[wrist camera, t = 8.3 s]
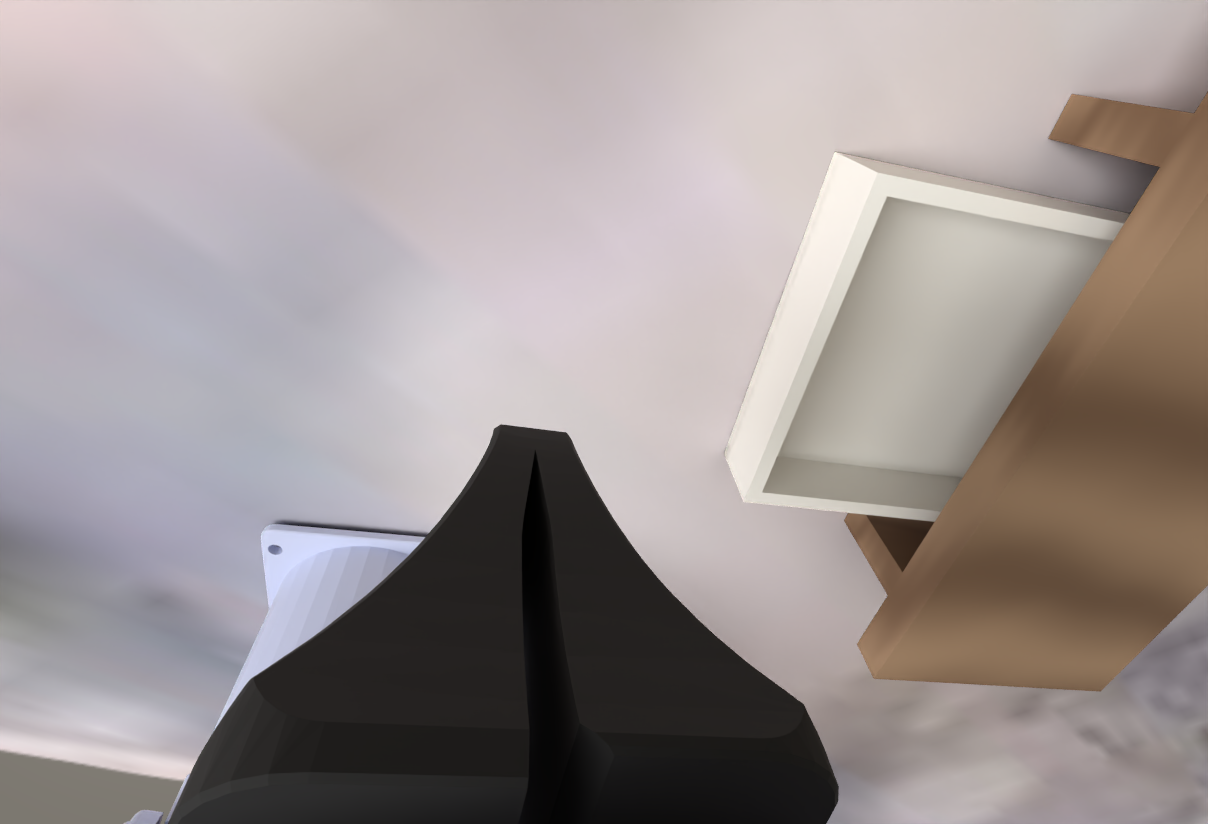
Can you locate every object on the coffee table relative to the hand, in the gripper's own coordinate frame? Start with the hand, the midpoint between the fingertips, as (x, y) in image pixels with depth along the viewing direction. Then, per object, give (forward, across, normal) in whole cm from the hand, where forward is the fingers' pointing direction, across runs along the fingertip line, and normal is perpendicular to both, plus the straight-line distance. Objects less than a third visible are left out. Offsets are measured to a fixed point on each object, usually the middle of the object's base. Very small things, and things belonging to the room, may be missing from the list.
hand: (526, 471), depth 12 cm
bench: (+9, -19, 0) cm, 21 cm away
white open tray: (+9, -16, 0) cm, 18 cm away
